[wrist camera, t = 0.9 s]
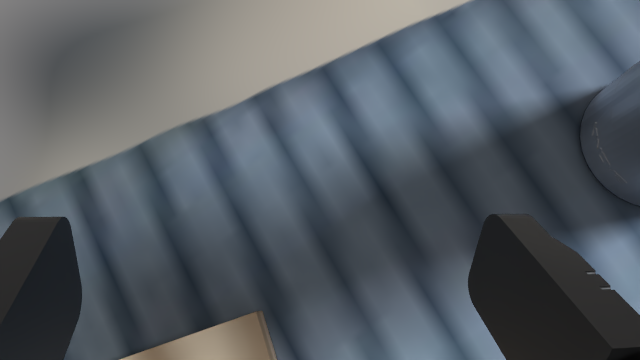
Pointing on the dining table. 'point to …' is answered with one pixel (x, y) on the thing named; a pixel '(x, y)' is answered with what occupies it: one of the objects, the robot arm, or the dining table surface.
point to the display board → (219, 343)
